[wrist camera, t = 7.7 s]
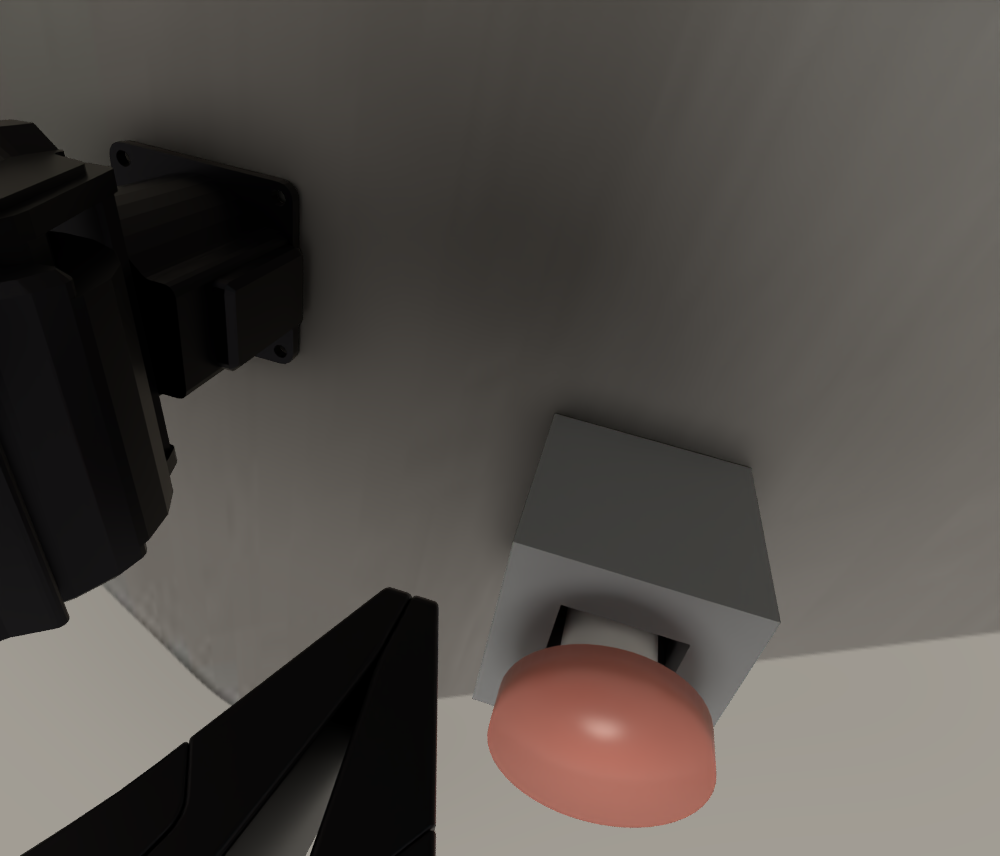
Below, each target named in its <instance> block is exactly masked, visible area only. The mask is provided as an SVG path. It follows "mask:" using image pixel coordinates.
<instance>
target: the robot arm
mask: <svg viewBox="0 0 1000 856" xmlns="http://www.w3.org/2000/svg"><path fill="white" fill-rule="evenodd" d="M125 152H126V153H127V154H128V155H129V157H130V163H129V162H128V160H127V159H126V156H125ZM110 160H111V167H109V166H103V165H97V164H91V163H85V162H82V161H78V160H75V159H71V158H67V157H65V155H64V151H63V150H59V149H57V147H56V146H55V145H54V144H53V143H52V142H51V141H50V140H49V139H48V138H47V137H46V136H45V135H44V134H43V133H42V132H41V130H40V129H39V128H38V127H37V126H36V125H35V124H34V123H31V122H24V121H18V120H1V121H0V641H1V640H4V639H7V638H10V637H15V636H20V635H25V634H30V633H35V632H41V631H46V630H50V629H55V628H60V627H62V626H63V625H65V624H66V623H67V622H68V621H69V614H68V612H67V609H66V607H65V604H64V602H66V601H69V600H72V599H75V598H77V597H79V596H81V595H83V594H84V593H87V592H88V591H90V590H92V589H94V588H96V587H98V586H100V585H102V584H104V583H106V582H108V581H110V580H112V579H114V578H116V577H117V576H119V575H120V574H121V573H123V572H124V571H125V570H127V569H128V568H129V567H131V566H132V565H133V564H135V563H136V562H137V561H139V560H140V559H142V558H143V557H144V555H145V554H146V552H147V547H146V542H147V541H148V540H149V539H150V538H151V536H152V535H153V534H154V532H155V531H156V530H157V528H158V527H159V526H160V524H161V523H162V522H163V520H164V519H165V518H166V516H167V515H168V512H169V508H170V503H171V499H172V495H173V488H172V484H171V479H170V475H171V473H172V471H173V469H174V467H175V465H176V463H177V458H176V453H175V449H174V446H173V445H171V444H170V443H169V438H168V434H167V429H166V425H165V421H164V416H163V412H162V407H161V403H160V398H159V396H160V395H162V394H165V395H168V396H172V397H175V398H184V397H185V396H187V395H188V394H190V393H191V392H192V391H194V390H195V389H197V388H198V387H200V386H201V385H202V384H204V383H205V382H207V381H208V380H209V379H211V378H212V377H214V376H215V375H217V374H218V373H219V372H221V371H222V370H224V369H228V370H231V371H233V370H236V369H237V368H239V367H240V366H242V365H243V364H244V363H246V362H247V361H249V360H250V359H251V358H253V357H254V356H256V357H260V358H263V359H267V360H270V361H274V362H277V363H282V364H286V363H289V362H291V361H292V360H293V359H294V358H295V357H296V356H297V355H298V351H299V324H300V323H301V322H302V319H303V256H302V254H301V252H300V250H299V197H298V192H297V190H296V188H295V187H294V186H293V185H292V184H291V183H290V182H288V181H286V180H284V179H280V178H276V177H272V176H268V175H264V174H260V173H256V172H252V171H248V170H244V169H240V168H236V167H232V166H228V165H225V164H221V163H217V162H213V161H209V160H205V159H201V158H197V157H193V156H189V155H185V154H181V153H177V152H173V151H169V150H165V149H161V148H157V147H153V146H149V145H145V144H141V143H137V142H133V141H119V142H115V143H114V144H112V146H111V148H110ZM278 190H280V191H281V192H282V193H283V194H284V195H285V199H286V201H285V204H284V203H282V202H281V201H280V200H279V198H278V195H277V193H278ZM280 345H281V346H283V347H284V348H285V349H286V351H287V353H285V352H283V351H282V350H281V349H280ZM438 613H439V609H438V604H437V602H435V601H432V600H429V599H426V598H423V597H420V596H414V597H413V598H412V596H411V595H410V594H409V593H407V592H404V591H401V590H398V589H395V588H391V587H388V588H385V589H383V590H382V591H380V592H379V593H378V594H376V595H375V596H374V597H373V598H371V599H370V600H369V601H367V602H366V603H365V604H363V605H362V606H361V607H360V608H358V609H357V610H356V611H354V612H353V613H352V614H350V615H349V616H348V617H347V618H345V619H344V620H343V621H341V622H340V623H339V624H337V625H336V626H335V627H334V628H332V629H331V630H330V631H328V632H327V633H326V634H324V635H323V636H322V637H321V638H319V639H318V640H317V641H315V642H314V643H313V644H311V645H310V646H309V647H308V648H306V649H305V650H304V651H302V652H301V653H300V654H298V655H297V656H296V657H295V658H293V659H292V660H291V661H289V662H288V663H287V664H286V665H284V666H283V667H282V668H280V669H279V670H278V671H276V672H275V673H274V674H273V675H271V676H270V677H269V678H267V679H266V680H265V681H263V682H262V683H261V684H260V685H258V686H257V687H256V688H254V689H253V690H252V691H250V692H249V693H248V694H247V695H245V696H244V697H243V698H241V699H240V700H239V701H237V702H236V703H235V704H234V705H232V706H231V707H230V708H228V709H227V710H226V711H224V712H223V713H222V714H221V715H219V716H218V717H217V718H215V719H214V720H213V721H211V722H210V723H209V724H208V725H206V726H205V727H204V728H203V729H201V730H200V731H199V732H197V733H196V734H195V735H193V736H192V737H191V738H190V740H189V743H187V742H184V743H183V744H181V745H180V746H179V747H177V748H176V749H175V750H173V751H172V752H171V753H170V754H168V755H167V756H166V757H164V758H163V759H162V760H161V761H159V762H158V763H157V764H155V765H154V766H152V767H151V768H150V769H148V770H147V771H146V772H144V773H143V774H142V775H140V776H139V777H137V778H136V779H135V780H133V781H132V782H131V783H129V784H128V785H127V786H125V787H124V788H123V789H121V790H120V791H119V792H117V793H115V794H114V795H113V796H111V797H109V798H108V799H106V800H105V801H104V802H102V803H100V804H99V805H97V806H96V807H94V808H93V809H92V810H90V811H88V812H87V813H85V814H84V815H83V816H81V817H79V818H78V819H77V820H75V821H73V822H72V823H70V824H69V825H67V826H66V827H64V828H63V829H61V830H59V831H58V832H57V833H55V834H54V835H52V836H50V837H49V838H47V839H46V840H44V841H42V842H41V843H39V844H38V845H36V846H35V847H33V848H31V849H30V850H28V851H27V852H25V853H24V854H22V855H20V856H305V855H306V853H307V852H308V849H309V848H310V846H311V844H312V842H313V840H314V838H315V836H316V834H317V836H316V839H315V842H314V845H313V848H312V851H311V853H310V856H435V854H436V852H435V851H436V850H435V849H436V834H435V832H434V830H435V826H436V762H437V760H436V759H437V688H438Z"/></svg>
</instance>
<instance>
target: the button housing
mask: <svg viewBox="0 0 1000 856" xmlns="http://www.w3.org/2000/svg"><path fill="white" fill-rule="evenodd" d="M568 607H570V608H573V609H576V610H580V611H583V612H586V613H589V614H592V615H596V616H599V617H602V618H605V619H609V620H612V621H615V622H618V623H621V624H625V625H628V626H631V627H634V628H638V629H641V630H644V631H647V632H650V633H654V634H657V635H658V663H660V664H662V665H664V666H665V667H667V668H669V669H670V670H672V671H674V672H675V673H676V674H678V675H679V676H680V677H682V678H683V679H684V680H686V681H687V682H688V683H689V684H690V685H691V686H692V687H693V688H694V689H695V690H696V691H697V693H698V694H699V695H700V696H701V697H702V699H703V700H704V702H705V704H706V706H707V707H708V709H709V712H710V715H711V717H712V722H713V727H714V726H715V724H716V723H717V721H718V720H719V718H720V716H721V715H722V713H723V712H724V710H725V709H726V707H727V706H728V704H729V702H730V701H731V699H732V698H733V696H734V694H735V693H736V692H737V690H738V688H739V687H740V685H741V684H742V682H743V681H744V679H745V678H746V676H747V675H748V673H749V671H750V670H751V668H752V667H753V665H754V664H755V662H756V661H757V659H758V657H759V656H760V654H761V653H762V651H763V650H764V648H765V647H766V645H767V643H768V642H769V640H770V639H771V637H772V636H773V634H774V633H775V631H776V629H777V628H778V626H779V625H780V623H781V621H780V616H779V611H778V606H777V601H776V595H775V590H774V585H773V580H772V574H771V569H770V564H769V559H768V554H767V548H766V543H765V538H764V533H763V528H762V522H761V517H760V512H759V507H758V502H757V496H756V491H755V486H754V481H753V475H752V470H751V468H749V467H745V466H741V465H738V464H734V463H731V462H727V461H723V460H720V459H716V458H713V457H709V456H706V455H702V454H698V453H695V452H691V451H688V450H684V449H681V448H677V447H673V446H670V445H666V444H663V443H659V442H656V441H652V440H648V439H645V438H641V437H638V436H634V435H630V434H627V433H623V432H620V431H616V430H613V429H609V428H605V427H602V426H598V425H595V424H591V423H588V422H584V421H580V420H577V419H573V418H570V417H566V416H562V415H559V414H554V417H553V420H552V424H551V427H550V430H549V433H548V436H547V439H546V442H545V445H544V448H543V451H542V454H541V457H540V460H539V463H538V467H537V470H536V473H535V476H534V479H533V482H532V485H531V488H530V491H529V494H528V497H527V500H526V503H525V506H524V510H523V513H522V516H521V519H520V522H519V525H518V528H517V531H516V534H515V537H514V540H513V544H512V548H511V551H510V555H509V559H508V563H507V567H506V571H505V574H504V578H503V582H502V586H501V590H500V594H499V597H498V601H497V605H496V609H495V613H494V617H493V621H492V624H491V628H490V632H489V636H488V640H487V644H486V647H485V651H484V655H483V659H482V663H481V667H480V670H479V674H478V678H477V682H476V686H475V690H474V693H473V697H472V699H475V700H478V701H481V702H484V703H487V704H490V705H493V706H494V705H495V702H496V698H497V694H498V690H499V687H500V684H501V682H502V679H503V677H504V676H505V674H506V673H507V671H508V670H509V669H510V668H511V667H512V666H513V665H514V664H515V663H516V662H518V661H519V660H520V659H522V658H523V657H525V656H527V655H529V654H531V653H533V652H536V651H539V650H542V649H545V648H549V647H554V646H558V645H561V640H562V635H563V630H564V625H565V619H566V614H567V609H568Z"/></svg>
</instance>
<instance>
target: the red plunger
mask: <svg viewBox="0 0 1000 856" xmlns="http://www.w3.org/2000/svg"><path fill="white" fill-rule="evenodd" d="M487 736H488V746H489V749H490V753H491V755H492V758H493V760H494V762H495V763H496V765H497V766H498V768H499V769H500V771H501V772H502V773H503V774H504V775H505V777H506V778H507V779H508V780H509V781H510V782H511V783H512V784H514V786H516V787H517V788H518V789H520V790H521V791H522V792H523V793H525V794H526V795H528V796H529V797H531V798H532V799H534V800H535V801H537V802H539V803H541V804H542V805H544V806H546V807H548V808H550V809H552V810H555V811H557V812H559V813H562V814H565V815H567V816H570V817H573V818H576V819H579V820H583V821H587V822H591V823H596V824H600V825H607V826H614V827H630V828H639V827H652V826H659V825H664V824H668V823H672V822H676V821H678V820H681V819H683V818H686V817H688V816H689V815H691V814H693V813H695V812H696V811H697V810H699V809H700V808H701V807H702V806H703V805H704V804H705V803H706V802H707V801H708V800H709V798H710V796H711V795H712V793H713V791H714V787H715V784H716V761H715V745H714V729H713V722H712V717H711V715H710V712H709V709H708V707H707V706H706V704H705V702H704V700H703V699H702V697H701V696H700V695H699V694H698V693H697V691H696V690H695V689H694V688H693V687H692V686H691V685H690V684H689V683H688V682H687V681H686V680H684V679H683V678H682V677H680V676H679V675H678V674H676V673H675V672H674V671H672V670H670V669H669V668H667V667H665V666H664V665H662V664H660V663H658V635H657V634H654V633H650V632H647V631H644V630H641V629H638V628H634V627H631V626H628V625H625V624H621V623H618V622H615V621H612V620H609V619H605V618H602V617H599V616H596V615H592V614H589V613H586V612H583V611H580V610H576V609H573V608H570V607H568V609H567V614H566V619H565V625H564V630H563V635H562V640H561V645H558V646H554V647H549V648H545V649H542V650H539V651H536V652H533V653H531V654H529V655H527V656H525V657H523V658H522V659H520V660H519V661H518V662H516V663H515V664H514V665H513V666H512V667H511V668H510V669H509V670H508V671H507V673H506V674H505V676H504V677H503V679H502V682H501V684H500V687H499V690H498V694H497V698H496V702H495V705H494V709H493V713H492V716H491V720H490V724H489V728H488V735H487Z"/></svg>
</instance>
